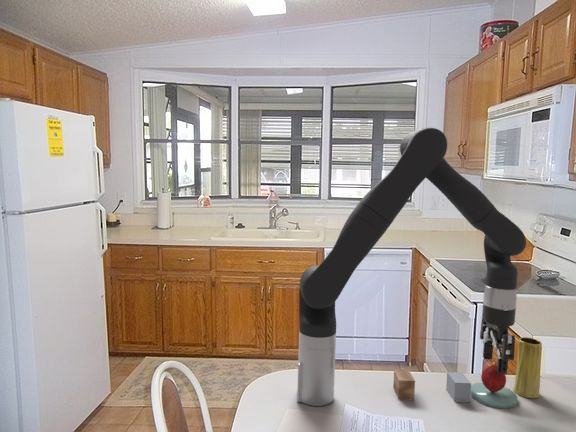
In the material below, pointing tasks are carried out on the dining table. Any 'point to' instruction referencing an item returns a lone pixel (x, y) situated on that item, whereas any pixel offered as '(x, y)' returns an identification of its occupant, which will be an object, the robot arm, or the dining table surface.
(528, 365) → the vase
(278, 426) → the dining table surface
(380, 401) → the dining table surface
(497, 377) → the onion
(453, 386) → the slate block
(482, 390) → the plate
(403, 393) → the walnut block
